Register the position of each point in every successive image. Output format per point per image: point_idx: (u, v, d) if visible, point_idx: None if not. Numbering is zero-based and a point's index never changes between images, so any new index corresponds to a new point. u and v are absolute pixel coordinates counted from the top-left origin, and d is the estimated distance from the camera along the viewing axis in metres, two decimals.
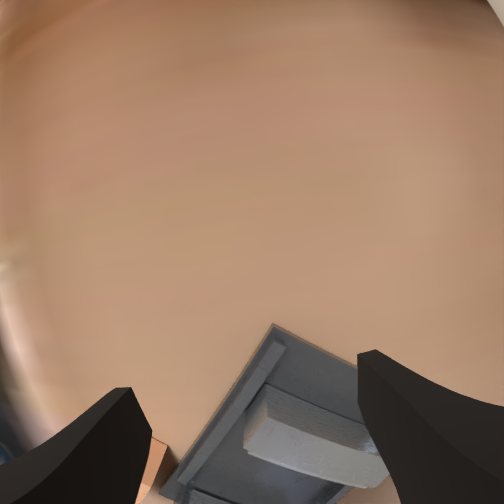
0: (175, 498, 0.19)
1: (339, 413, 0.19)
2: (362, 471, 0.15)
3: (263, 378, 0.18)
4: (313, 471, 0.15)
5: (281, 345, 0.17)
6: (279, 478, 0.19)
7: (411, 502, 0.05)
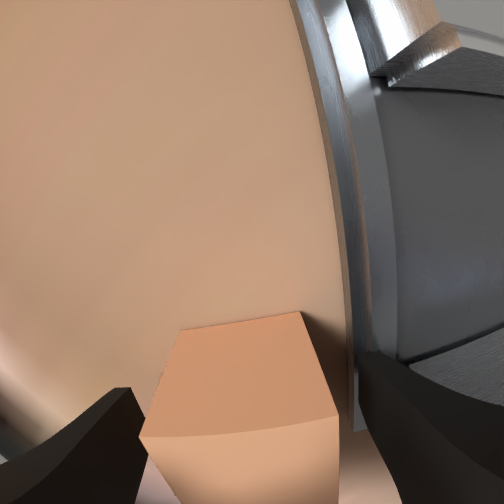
0: None
1: None
2: None
3: None
4: None
5: None
6: None
7: (412, 502, 0.05)
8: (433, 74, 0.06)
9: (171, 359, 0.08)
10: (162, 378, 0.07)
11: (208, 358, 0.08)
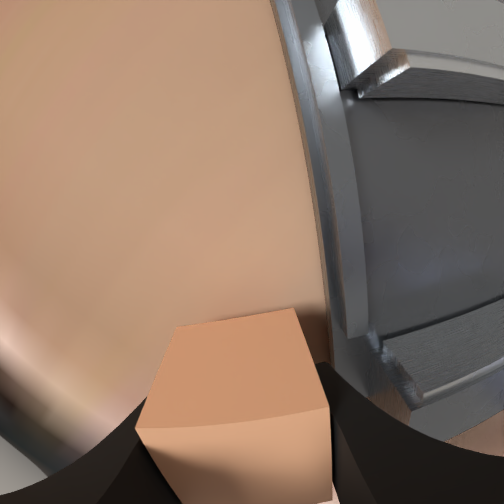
0: (367, 389, 0.12)
1: None
2: None
3: (311, 1, 0.08)
4: None
5: None
6: (478, 203, 0.10)
7: None
8: (395, 87, 0.08)
9: (167, 354, 0.09)
10: (158, 372, 0.08)
11: (204, 353, 0.08)
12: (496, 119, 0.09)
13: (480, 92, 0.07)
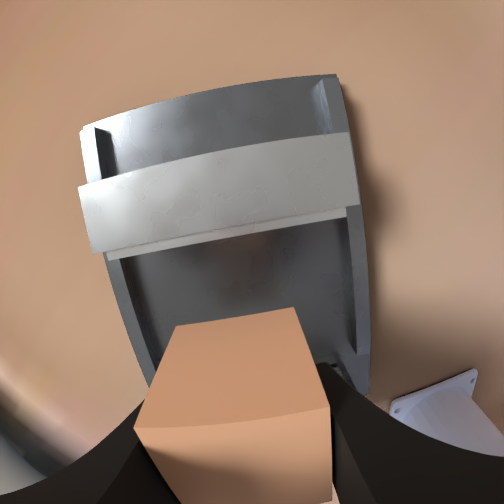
0: None
1: None
2: (293, 180, 0.10)
3: (98, 175, 0.13)
4: (208, 226, 0.11)
5: (88, 129, 0.13)
6: (256, 303, 0.16)
7: None
8: None
9: (167, 353, 0.08)
10: (157, 371, 0.08)
11: (203, 352, 0.08)
12: (285, 227, 0.15)
13: None
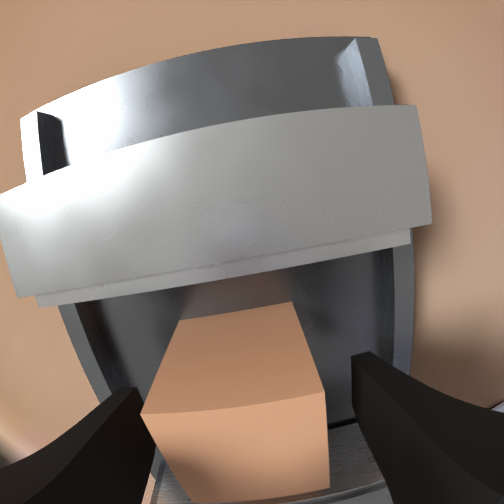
0: None
1: None
2: (331, 181, 0.06)
3: None
4: (181, 262, 0.06)
5: (30, 114, 0.08)
6: None
7: None
8: None
9: (171, 345, 0.09)
10: (162, 362, 0.08)
11: (205, 344, 0.09)
12: None
13: None
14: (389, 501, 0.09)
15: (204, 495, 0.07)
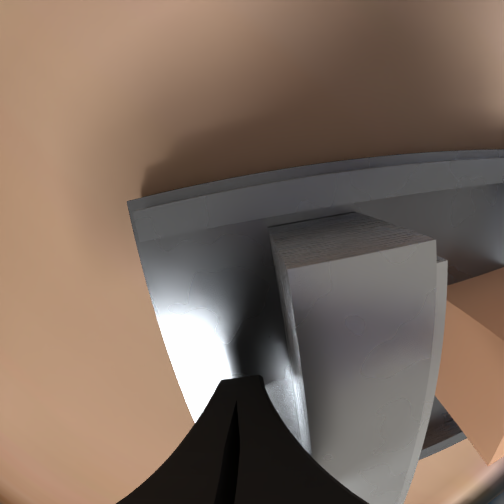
0: None
1: (278, 357, 0.10)
2: (379, 369, 0.05)
3: None
4: (409, 451, 0.06)
5: None
6: None
7: None
8: None
9: (446, 407, 0.08)
10: (458, 424, 0.07)
11: (454, 387, 0.08)
12: None
13: None
14: None
15: None
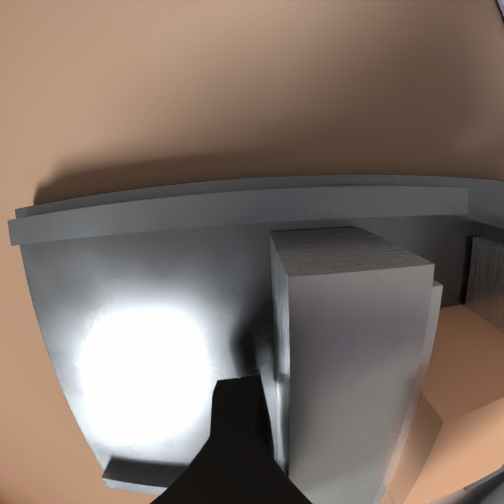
0: None
1: (125, 362, 0.10)
2: (364, 383, 0.05)
3: (150, 487, 0.10)
4: (384, 466, 0.06)
5: (104, 481, 0.10)
6: None
7: None
8: None
9: None
10: None
11: None
12: (228, 313, 0.09)
13: None
14: None
15: (496, 464, 0.05)
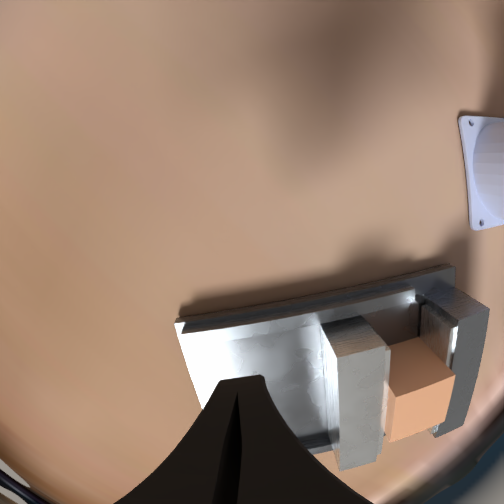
0: None
1: None
2: (364, 385, 0.15)
3: None
4: (379, 419, 0.15)
5: None
6: None
7: None
8: None
9: None
10: None
11: None
12: (302, 358, 0.19)
13: None
14: (477, 317, 0.14)
15: (439, 419, 0.15)
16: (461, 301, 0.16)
